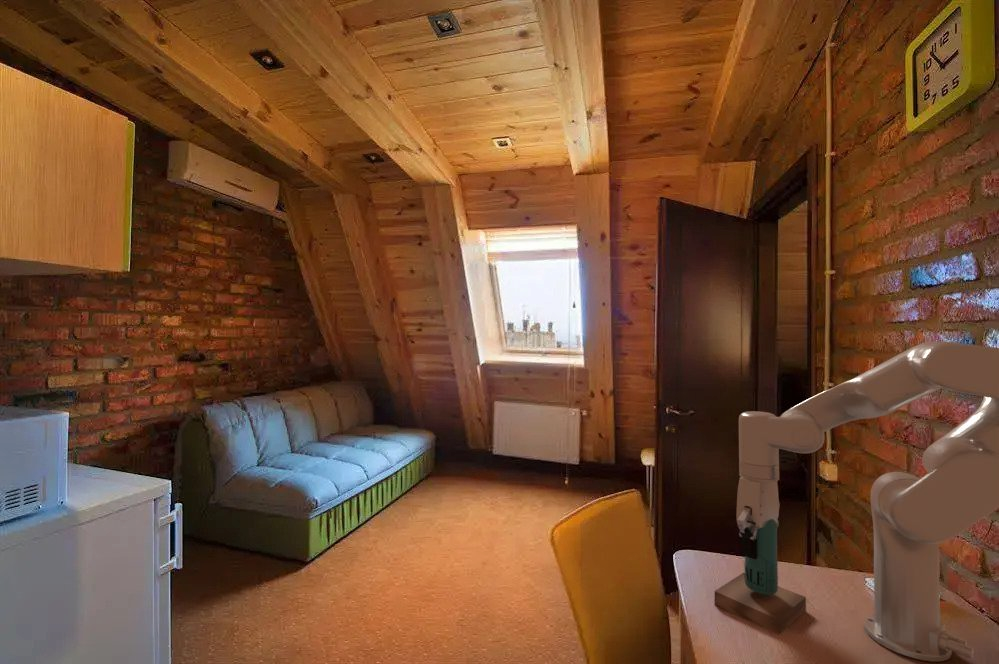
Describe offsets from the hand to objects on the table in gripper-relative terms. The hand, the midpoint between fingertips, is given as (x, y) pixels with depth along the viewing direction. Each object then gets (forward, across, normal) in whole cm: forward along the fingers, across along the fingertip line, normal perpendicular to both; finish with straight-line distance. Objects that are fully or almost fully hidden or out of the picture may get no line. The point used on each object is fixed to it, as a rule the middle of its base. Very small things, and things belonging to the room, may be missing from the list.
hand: (759, 550), depth 101 cm
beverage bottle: (+10, 0, 0) cm, 10 cm away
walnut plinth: (+12, 0, 0) cm, 12 cm away
